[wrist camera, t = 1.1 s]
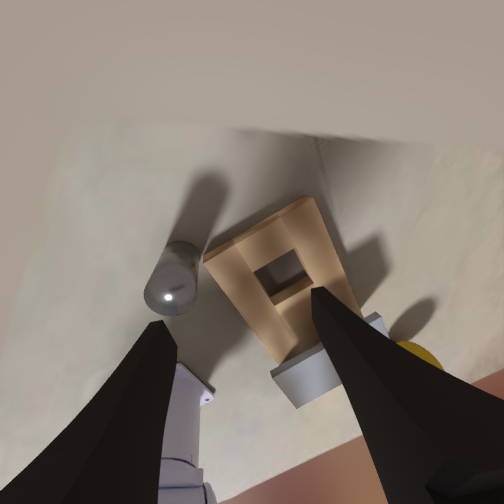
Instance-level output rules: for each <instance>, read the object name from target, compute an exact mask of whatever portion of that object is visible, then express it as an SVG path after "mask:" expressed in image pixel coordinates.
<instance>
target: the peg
mask: <svg viewBox="0 0 504 504" xmlns="http://www.w3.org/2000/svg"><path fill="white" fill-rule="evenodd" d="M198 267H199V253H198V251H197V249H196V248H195V247H194V246H193V245H192V244H190V243H188V242H185V241H176V242H172V243H170V244H169V245H167V246H166V248H165V249H164V251H163V253H162V255H161V257H160V259H159V261H158V263H157V265H156V267H155V269H154V271H153V273H152V275H151V277H150V279H149V281H148V283H147V285H146V287H145V289H144V299H145V302H146V304H147V305H148V307H149V308H150V309H151V310H153V311H154V312H156V313H158V314H161V315H165V316H176V315H180V314H182V313H184V312H186V311H188V310H189V309H190V308H191V307H192V305H193V304H194V302H195V299H196V289H197V278H198Z"/></svg>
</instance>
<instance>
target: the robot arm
mask: <svg viewBox="0 0 504 504" xmlns="http://www.w3.org/2000/svg"><path fill="white" fill-rule="evenodd" d="M311 310H312V320H313V322H314V325H315V328H316V331H317V333H318V336H319V338H320V340H321V342H322V344H323V346H324V348H325V350H326V352H327V354H328V356H329V358H330V360H331V362H332V364H333V366H334V368H335V370H336V372H337V374H338V376H339V378H340V380H341V382H342V384H343V386H344V389H345V391H346V393H347V395H348V398H349V400H350V403H351V405H352V408H353V410H354V413H355V415H356V418H357V420H358V423H359V425H360V428H361V431H362V433H363V436H364V438H365V441H366V443H367V446H368V449H369V452H370V454H371V457H372V459H373V462H374V465H375V468H376V470H377V473H378V476H379V479H380V481H381V484H382V487H383V490H384V492H385V495H386V498H387V501H388V504H504V400H503V399H500V398H498V397H496V396H494V395H491V394H489V393H487V392H485V391H483V390H481V389H478V388H476V387H474V386H472V385H470V384H468V383H466V382H464V381H462V380H460V379H458V378H456V377H454V376H452V375H451V374H449V373H447V372H445V371H443V370H441V369H440V368H438V367H436V366H434V365H432V364H430V363H429V362H427V361H425V360H423V359H421V358H420V357H418V356H416V355H415V354H413V353H411V352H410V351H408V350H406V349H405V348H403V347H402V346H400V345H399V344H397V343H395V342H394V341H392V340H391V339H389V338H388V337H386V336H385V335H383V334H382V333H381V332H379V331H378V330H376V329H375V328H374V327H372V326H371V325H370V324H368V323H367V322H366V321H364V320H363V319H362V318H360V317H359V316H358V315H357V314H355V313H354V312H353V311H352V310H350V309H349V308H348V307H347V306H346V305H345V304H343V303H342V302H341V301H340V300H339V299H338V298H336V297H335V296H334V295H333V294H332V293H331V292H330V291H329V290H328V289H327V288H325V287H324V286H321V287H316V288H311ZM177 347H178V346H177V344H176V343H175V341H174V339H173V337H172V336H171V334H170V332H169V330H168V328H167V327H166V325H165V323H164V321H163V320H160V321H155V322H150V323H149V325H148V326H147V327H146V329H145V330H144V331H143V333H142V334H141V336H140V337H139V338H138V340H137V341H136V343H135V344H134V345H133V347H132V348H131V350H130V351H129V352H128V354H127V355H126V356H125V358H124V359H123V360H122V362H121V363H120V364H119V366H118V367H117V368H116V370H115V371H114V372H113V373H112V375H111V376H110V377H109V378H108V380H107V381H106V382H105V383H104V385H103V386H102V387H101V388H100V390H99V391H98V392H97V393H96V395H95V396H94V397H93V398H92V399H91V400H90V402H89V403H88V404H87V405H86V406H85V407H84V408H83V409H82V411H81V412H80V413H79V414H78V415H77V416H76V417H75V418H74V419H73V421H72V422H71V423H70V424H69V425H68V426H67V427H66V428H65V429H64V430H63V431H62V432H61V433H60V434H59V435H58V436H57V437H56V438H55V439H54V440H53V441H52V442H51V443H50V444H49V445H48V446H47V447H46V448H45V449H44V450H43V451H42V452H41V453H40V454H39V455H38V456H37V457H36V458H35V459H34V460H33V461H32V462H31V463H30V464H29V465H28V466H27V467H26V468H25V469H24V470H23V471H22V472H20V473H19V474H18V475H17V476H16V477H15V478H14V479H13V480H12V481H11V482H10V483H9V484H7V485H6V486H5V487H4V488H3V489H2V490H1V491H0V504H217V501H216V496H215V493H214V492H213V490H212V487H211V485H210V484H209V483H207V482H206V483H203V469H202V468H198V462H199V431H200V406H202V405H204V404H206V403H208V402H209V401H211V400H213V399H214V394H213V393H212V392H211V391H210V390H209V389H208V388H207V387H206V386H205V385H204V384H203V383H202V382H201V381H199V380H198V379H197V378H196V377H195V376H194V375H193V374H192V373H191V372H190V371H189V370H188V369H187V368H186V367H185V366H184V365H183V364H181V363H177ZM176 363H177V364H176Z"/></svg>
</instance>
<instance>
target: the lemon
mask: <svg viewBox="0 0 504 504" xmlns="http://www.w3.org/2000/svg"><path fill="white" fill-rule="evenodd" d="M396 343H397V344H399V345H400V346H402V347H403V348H405V349H406V350H408V351H410V352H411V353H413V354H415V355H416V356H418V357H420V358H421V359H423V360H425V361H427V362H429V363H430V364H432V365H434V366H436V367H438V368H440V369H441V370H443V371H444V369H443V367H442V366H441V364H440V363H439V362H438V360H437V359H436V358H435V357H434V356H433V355H432V354H431V353H430V352H429V351H427V350H426V349H424V348H423V347H421V346H420V345H418V344H416V343H413V342H409V341H400V342H396Z"/></svg>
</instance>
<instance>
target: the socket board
mask: <svg viewBox="0 0 504 504" xmlns="http://www.w3.org/2000/svg"><path fill="white" fill-rule="evenodd" d="M203 264H204V266H205V267H206V268H207V270H208V271H209V272H210V274H211V275H212V276H213V278H214V279H215V280H216V282H217V283H218V284H219V286H220V287H221V288H222V290H223V291H224V292H225V294H226V295H227V296H228V298H229V299H230V300H231V302H232V303H233V304H234V306H235V307H236V308H237V310H238V311H239V312H240V314H241V315H242V316H243V318H244V319H245V321H246V322H247V323H248V325H249V326H250V327H251V329H252V330H253V331H254V333H255V334H256V335H257V337H258V338H259V339H260V341H261V342H262V343H263V345H264V346H265V347H266V349H267V350H268V351H269V353H270V354H271V355H272V357H273V358H274V359H275V361H276V362H277V363H278V365H279V366H278V367H277V368H275V369H273V370H271V371H270V373H271V376H272V379H273V380H274V381H275V382H276V384H277V385H278V386H279V387H280V389H281V390H282V391H283V392H284V394H285V395H286V396H287V397H288V399H289V400H290V401H291V402H292V404H293V405H294V406H295V407H296V409H297V408H299V407H301V406H303V405H305V404H306V403H308V402H310V401H312V400H314V399H315V398H317V397H319V396H321V395H323V394H324V393H326V392H328V391H330V390H332V389H333V388H335V387H337V386H339V385H341V384H342V382H341V380H340V378H339V376H338V374H337V372H336V370H335V368H334V366H333V364H332V362H331V360H330V358H329V356H328V354H327V352H326V350H325V348H324V346H323V344H322V342H321V340H320V338H319V336H318V333H317V331H316V328H315V325H314V322H313V320H312V310H311V288H316V287H321V286H324V287H325V288H327V289H328V290H329V291H330V292H331V293H332V294H333V295H334V296H335V297H336V298H338V299H339V300H340V301H341V302H342V303H343V304H345V305H346V306H347V307H348V308H349V309H350V310H352V311H353V312H354V313H355V314H357V315H358V316H359V317H360V318H362V319H363V320H364V321H366V322H367V323H368V324H370V325H371V326H372V327H374V328H375V329H376V330H378V331H379V332H381V333H382V334H383V335H385V336H386V337H388V338H389V336H388V333H387V330H386V327H385V325H384V322H383V319H382V317H381V316H380V315H379V314H378V313H377V312H374V313H372V314H371V315H369V316H367V317H365V318H363V315H362V313H361V311H360V308H359V306H358V303H357V301H356V299H355V296H354V294H353V291H352V289H351V287H350V284H349V282H348V279H347V277H346V275H345V272H344V270H343V267H342V265H341V262H340V260H339V258H338V255H337V253H336V250H335V248H334V246H333V243H332V241H331V238H330V236H329V234H328V231H327V229H326V226H325V224H324V222H323V219H322V217H321V214H320V212H319V210H318V207H317V205H316V202H315V200H314V198H312V197H309V196H306V195H305V196H303V197H301V198H299V199H298V200H296V201H294V202H293V203H291V204H289V205H288V206H286V207H284V208H283V209H281V210H279V211H278V212H276V213H274V214H273V215H271V216H269V217H268V218H266V219H264V220H262V221H261V222H259V223H257V224H256V225H254V226H252V227H251V228H249V229H247V230H246V231H244V232H242V233H241V234H239V235H237V236H236V237H234V238H232V239H230V240H229V241H227V242H225V243H224V244H222V245H220V246H219V247H217V248H215V249H214V250H212V251H210V252H209V253H207V254H205V255H204V256H203ZM389 339H390V338H389Z"/></svg>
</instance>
